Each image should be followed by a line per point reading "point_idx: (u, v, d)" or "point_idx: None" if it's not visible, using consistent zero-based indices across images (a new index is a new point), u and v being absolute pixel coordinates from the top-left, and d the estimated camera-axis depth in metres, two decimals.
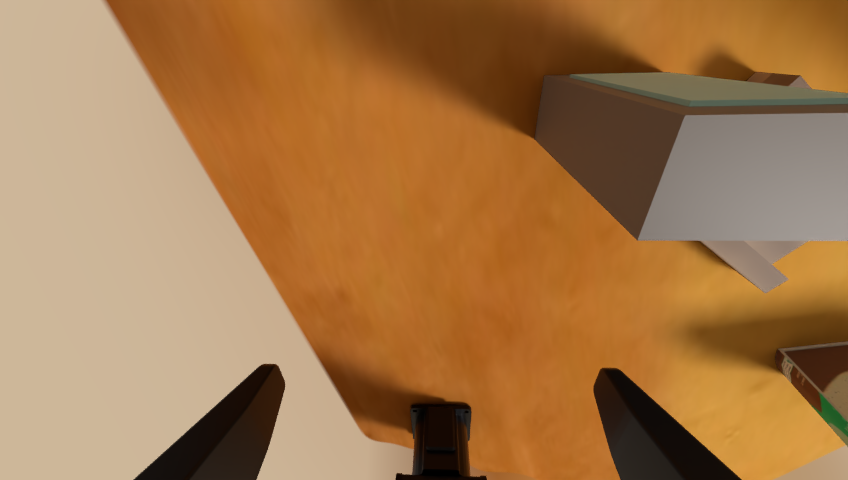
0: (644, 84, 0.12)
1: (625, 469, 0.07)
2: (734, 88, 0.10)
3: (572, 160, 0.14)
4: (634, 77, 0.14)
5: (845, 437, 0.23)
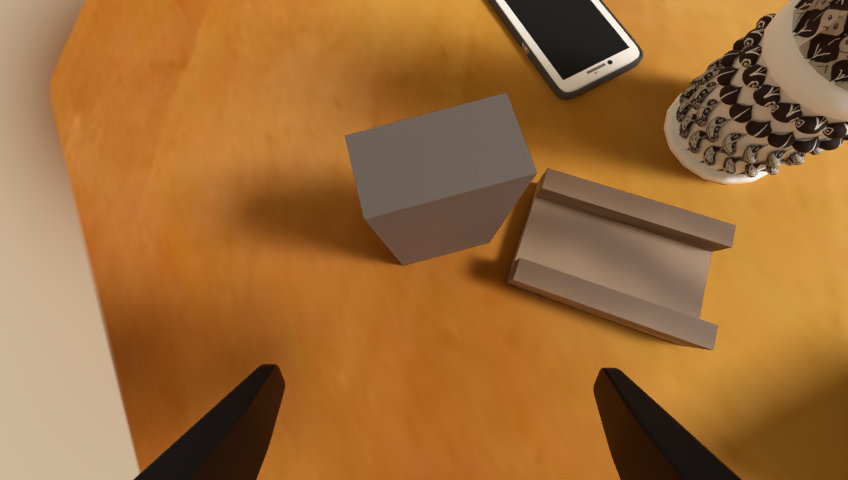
0: None
1: (625, 469, 0.07)
2: None
3: None
4: None
5: None
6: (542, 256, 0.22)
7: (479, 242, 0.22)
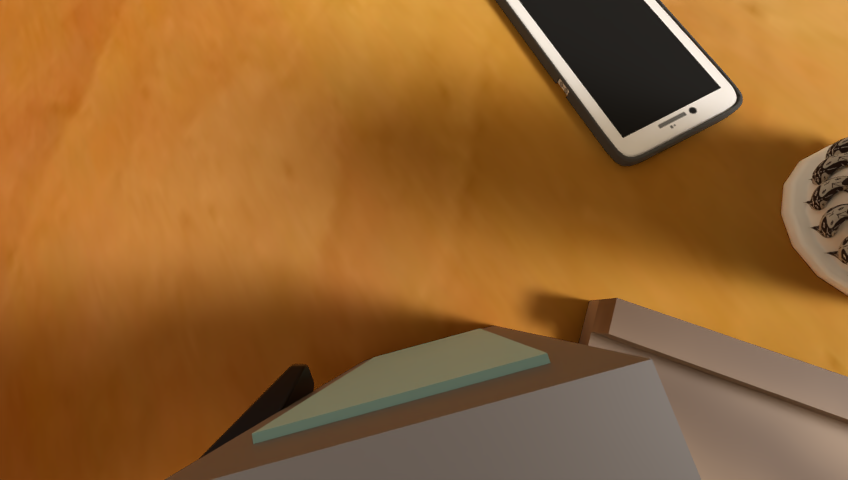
0: (366, 373, 0.09)
1: None
2: (433, 363, 0.07)
3: None
4: (411, 351, 0.12)
5: None
6: None
7: None
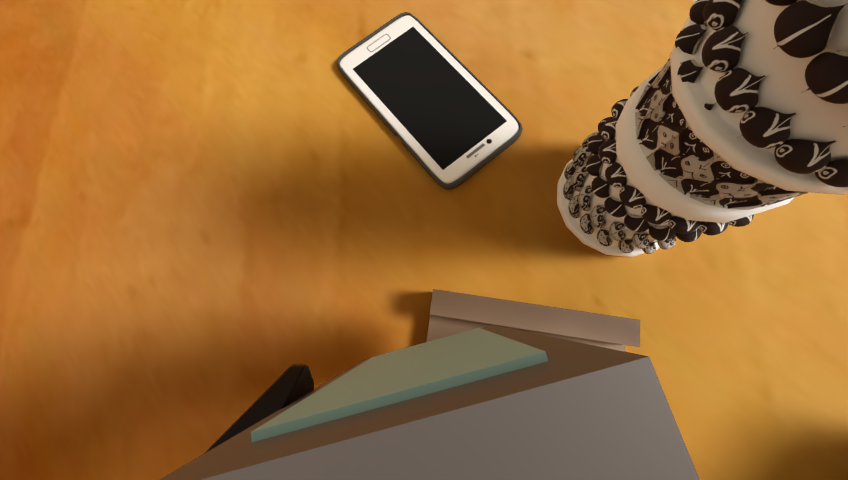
0: (365, 372, 0.09)
1: None
2: (432, 361, 0.07)
3: None
4: (410, 351, 0.12)
5: None
6: None
7: None
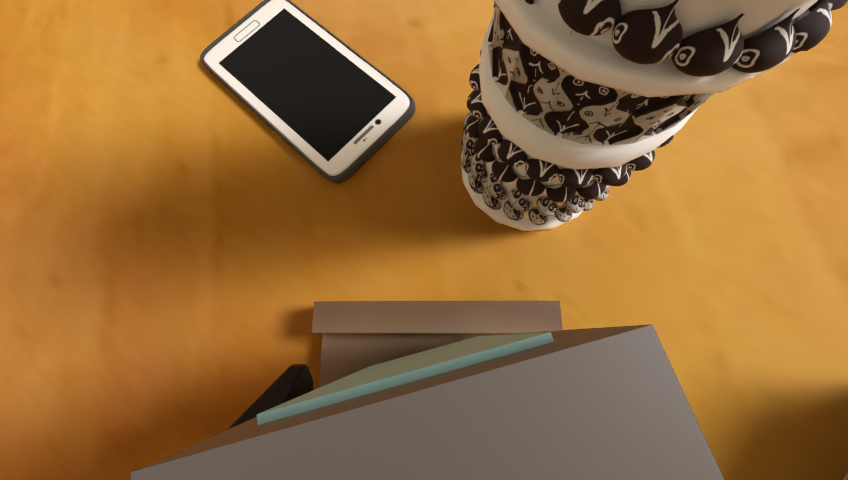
0: (366, 372, 0.09)
1: None
2: (435, 356, 0.07)
3: None
4: (410, 356, 0.11)
5: None
6: None
7: None
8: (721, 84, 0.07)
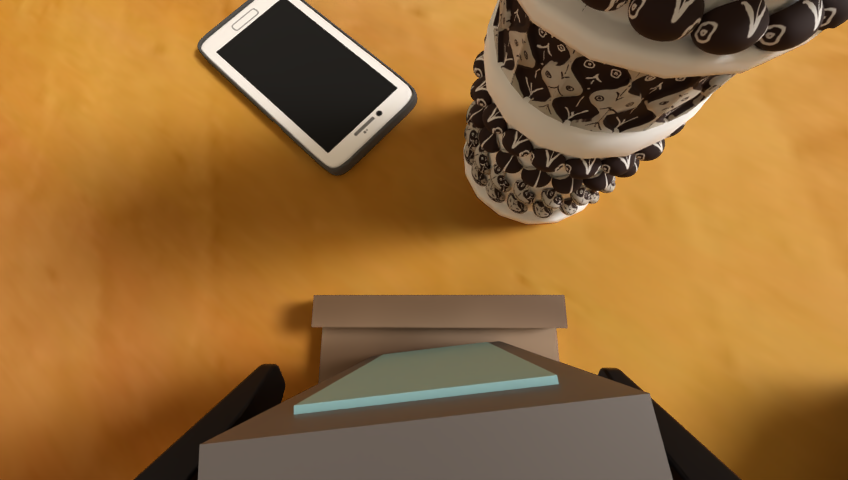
0: (382, 368, 0.10)
1: None
2: (448, 368, 0.08)
3: None
4: (422, 354, 0.12)
5: None
6: None
7: None
8: (742, 64, 0.07)
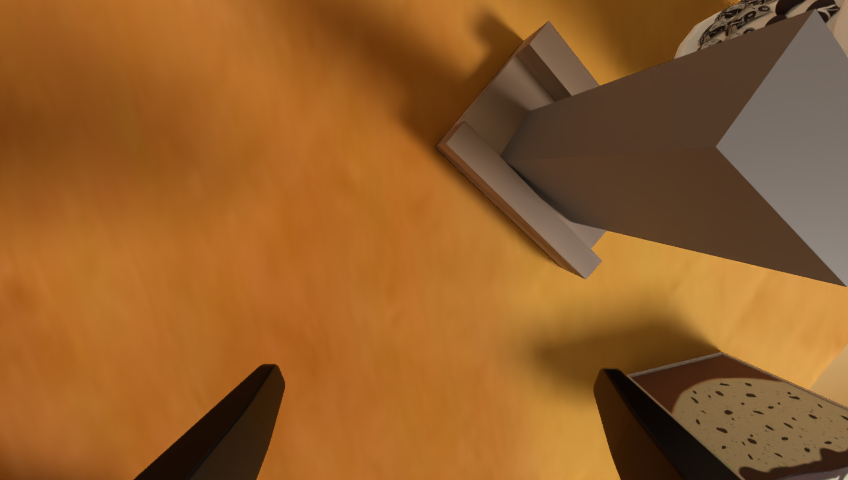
0: None
1: (625, 469, 0.07)
2: None
3: (567, 145, 0.13)
4: None
5: None
6: (487, 132, 0.18)
7: (573, 217, 0.19)
8: None
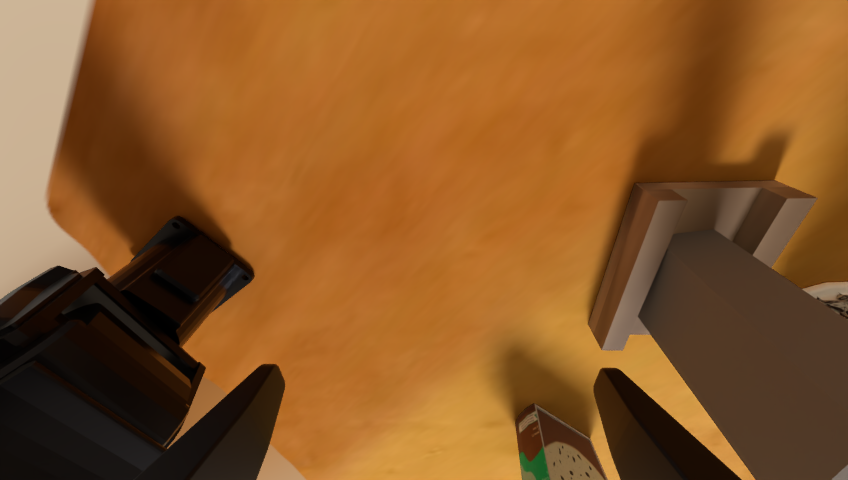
0: None
1: (625, 469, 0.07)
2: None
3: (743, 304, 0.15)
4: None
5: None
6: None
7: (644, 313, 0.22)
8: None
